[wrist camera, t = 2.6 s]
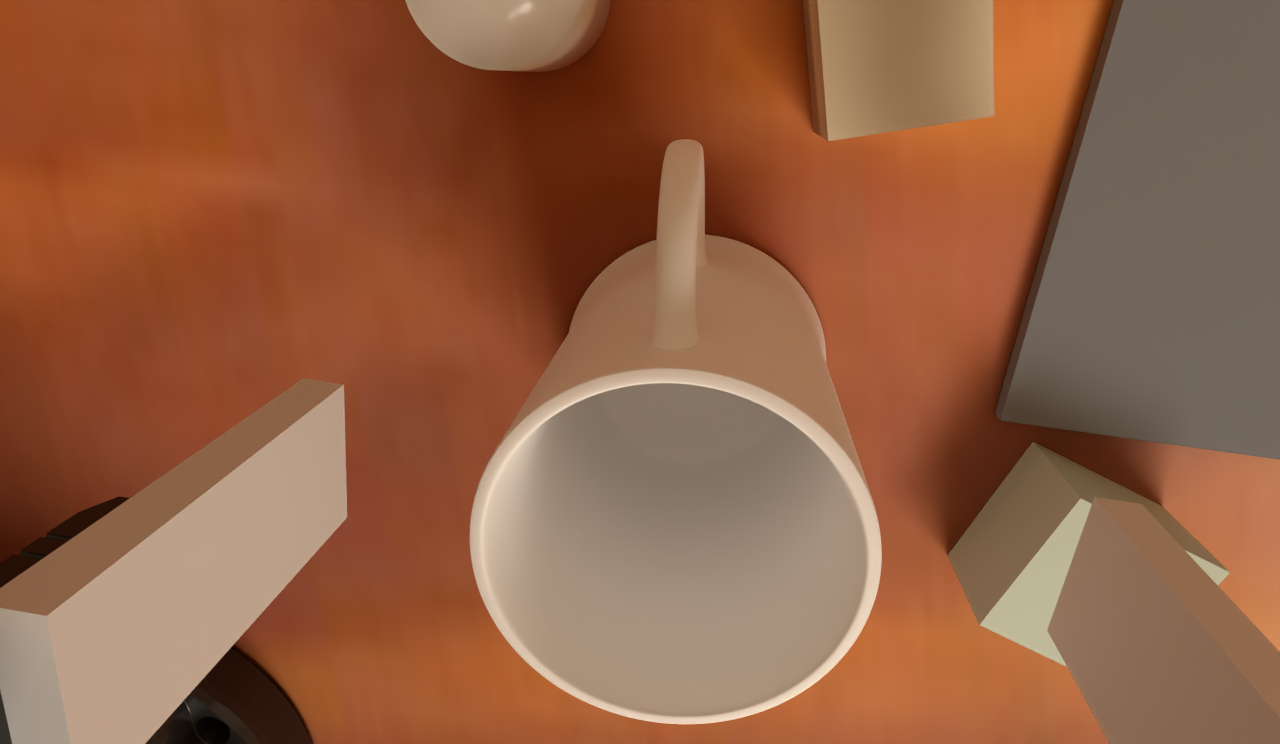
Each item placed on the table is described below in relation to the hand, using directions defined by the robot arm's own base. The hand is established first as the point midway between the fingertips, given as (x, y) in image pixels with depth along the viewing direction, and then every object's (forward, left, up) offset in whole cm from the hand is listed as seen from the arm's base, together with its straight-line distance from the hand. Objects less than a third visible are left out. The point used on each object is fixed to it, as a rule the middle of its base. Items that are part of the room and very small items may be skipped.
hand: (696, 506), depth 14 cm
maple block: (+4, +8, -13) cm, 16 cm away
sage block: (+13, -6, -13) cm, 19 cm away
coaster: (+17, +5, -13) cm, 22 cm away
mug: (0, 0, -13) cm, 13 cm away
